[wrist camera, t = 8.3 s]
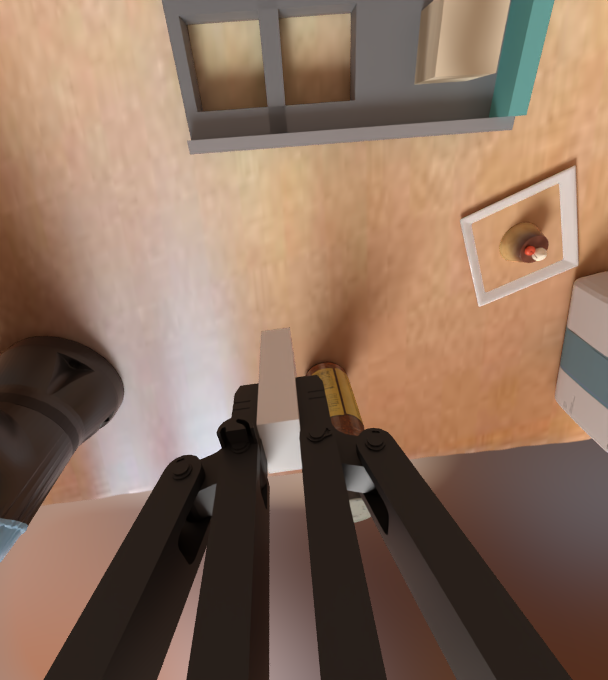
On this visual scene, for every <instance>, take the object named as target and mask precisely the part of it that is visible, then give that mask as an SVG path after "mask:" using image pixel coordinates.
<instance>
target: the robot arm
mask: <svg viewBox="0 0 608 680" xmlns="http://www.w3.org/2000/svg"><path fill="white" fill-rule="evenodd" d="M123 397H124V389H123V384H122V381H121V379H120V377H119V375H118V373H117V372H116V371H115V369H114V368H113V367H112V366H111V365H110V363H109V362H107V361H106V360H105V359H104V358H103V357H102V356H100V355H99V354H98V353H96V352H95V351H93V350H91V349H89V348H88V347H86V346H83V345H81V344H79V343H76V342H73V341H70V340H67V339H63V338H57V337H48V336H41V337H32V338H27V339H24V340H21V341H19V342H17V343H15V344H14V345H12V346H11V347H10V348H9V349H7V350H6V351H5V352H4V353H2V354H1V355H0V562H1V561H2V560H3V558H4V557H5V556H6V554H7V553H8V552H9V550H10V549H11V548H12V546H13V545H14V543H15V542H16V541H17V539H18V538H19V537H20V535H21V534H23V533H24V532H25V531H26V530H27V527H28V525H29V523H30V522H31V520H32V518H33V517H34V515H35V514H36V512H37V511H38V509H39V507H40V506H41V504H42V503H43V501H44V500H45V498H46V496H47V495H48V493H49V492H50V490H51V489H52V487H53V485H54V484H55V482H56V481H57V479H58V477H59V476H60V474H61V473H62V471H63V469H64V468H65V466H66V465H67V463H68V462H69V460H70V458H71V457H72V455H73V454H74V452H75V451H76V449H77V448H78V446H80V445H81V444H82V443H83V442H85V441H86V440H87V439H88V438H90V437H91V436H92V435H93V434H95V433H96V432H97V431H98V430H99V429H100V428H102V427H103V426H105V425H106V424H107V423H108V422H109V421H110V420H111V419H112V418H113V417H114V415H115V414H116V412H117V410H118V409H119V407H120V405H121V403H122V401H123ZM217 436H218V438H219V441H220V444H221V447H222V449H220V450H219V451H218V452H216V453H214V454H212V455H210V456H208V457H205V458H203V459H201V460H200V459H199V458H198V457H197V456H193V455H183V456H181V457H178V458H176V459H175V460H173V461H172V462H171V463H170V464H169V465H168V466H167V467H166V469H165V470H164V472H163V473H162V475H161V477H160V479H159V480H158V482H157V484H156V486H155V487H154V489H153V491H152V493H151V494H150V496H149V498H148V500H147V501H146V503H145V505H144V506H143V508H142V510H141V512H140V513H139V515H138V517H137V519H136V521H135V522H134V524H133V526H132V527H131V529H130V531H129V532H128V534H127V536H126V538H125V540H124V541H123V543H122V545H121V546H120V548H119V550H118V552H117V553H116V555H115V557H114V558H113V560H112V562H111V564H110V566H109V567H108V569H107V571H106V572H105V574H104V576H103V578H102V579H101V581H100V583H99V585H98V586H97V588H96V590H95V591H94V593H93V595H92V597H91V598H90V600H89V602H88V603H87V605H86V607H85V609H84V611H83V612H82V614H81V616H80V618H79V619H78V621H77V623H76V624H75V626H74V628H73V629H72V631H71V633H70V635H69V636H68V638H67V640H66V642H65V643H64V645H63V647H62V649H61V650H60V652H59V654H58V655H57V657H56V659H55V661H54V663H53V664H52V666H51V668H50V670H49V671H48V673H47V675H46V676H45V678H44V680H157V678H158V675H159V673H160V670H161V667H162V665H163V662H164V659H165V656H166V654H167V651H168V648H169V646H170V643H171V640H172V638H173V635H174V632H175V630H176V627H177V624H178V622H179V619H180V616H181V614H182V611H183V608H184V605H185V603H186V600H187V598H188V595H189V592H190V589H191V587H192V584H193V581H194V578H195V576H196V573H197V570H198V568H199V565H200V562H201V560H202V557H203V554H204V552H205V549H206V547H207V549H206V557H205V562H204V569H203V576H202V582H201V588H200V595H199V602H198V608H197V615H196V621H195V627H194V635H193V640H192V647H191V653H190V660H189V666H188V673H187V680H269V494H270V493H269V492H270V487H269V482H268V478H267V467H268V471H269V473H276V472H283V471H291V470H298V469H302V473H303V484H304V496H305V507H306V518H307V529H308V540H309V552H310V563H311V574H312V585H313V596H314V608H315V619H316V630H317V641H318V651H319V664H320V675H321V680H387V678H386V673H385V668H384V664H383V659H382V655H381V649H380V645H379V640H378V635H377V630H376V625H375V621H374V616H373V612H372V606H371V602H370V597H369V592H368V587H367V583H366V578H365V573H364V569H363V564H362V559H361V555H360V549H359V545H358V540H357V535H356V530H355V526H354V521H353V516H352V511H351V507H350V502H349V497H348V492H347V490H349V491H354V492H359V494H360V496H361V498H362V500H363V502H364V504H365V505H366V507H367V509H368V511H369V513H370V515H371V517H372V518H373V521H374V522H375V524H376V526H377V528H378V530H379V532H380V534H381V536H382V538H383V539H384V541H385V544H386V545H387V547H388V549H389V551H390V553H391V555H392V557H393V559H394V561H395V563H396V564H397V566H398V568H399V570H400V572H401V574H402V576H403V577H404V580H405V581H406V583H407V585H408V587H409V589H410V591H411V593H412V595H413V597H414V599H415V601H416V603H417V604H418V606H419V608H420V610H421V612H422V614H423V616H424V618H425V620H426V622H427V624H428V625H429V627H430V629H431V631H432V633H433V635H434V637H435V639H436V641H437V642H438V644H439V646H440V648H441V650H442V652H443V654H444V656H445V658H446V660H447V662H448V663H449V665H450V667H451V669H452V671H453V673H454V675H455V677H456V679H457V680H572V679H571V677H570V676H569V675H568V673H567V672H566V670H565V669H564V668H563V667H562V665H561V664H560V663H559V661H558V660H557V658H556V657H555V656H554V654H553V653H552V652H551V650H550V649H549V648H548V646H547V645H546V643H545V642H544V641H543V639H542V638H541V637H540V635H539V634H538V633H537V632H536V630H535V629H534V627H533V626H532V625H531V623H530V622H529V621H528V619H527V618H526V617H525V615H524V614H523V612H522V611H521V610H520V609H519V607H518V606H517V604H516V603H515V602H514V600H513V599H512V598H511V597H510V595H509V594H508V592H507V591H506V590H505V588H504V587H503V586H502V584H501V583H500V581H499V580H498V579H497V578H496V576H495V575H494V574H493V572H492V571H491V569H490V568H489V567H488V565H487V564H486V563H485V561H484V560H483V559H482V557H481V556H480V555H479V553H478V552H477V550H476V549H475V548H474V546H473V545H472V544H471V542H470V541H469V540H468V539H467V537H466V536H465V534H464V533H463V532H462V530H461V529H460V528H459V526H458V525H457V523H456V522H455V521H454V519H453V518H452V517H451V515H450V514H449V513H448V511H447V510H446V509H445V507H444V506H443V505H442V503H441V502H440V501H439V499H438V498H437V497H436V495H435V494H434V493H433V492H432V490H431V488H430V487H429V486H428V484H427V483H426V482H425V481H424V479H423V478H422V476H421V475H420V474H419V472H418V471H417V470H416V468H415V467H414V466H413V464H412V463H411V461H410V460H409V459H408V457H407V456H406V455H405V453H404V452H403V451H402V449H401V448H400V447H399V445H398V444H397V443H396V441H395V440H394V439H393V437H392V436H391V435H390V434H389V433H388V432H386V431H384V430H382V429H378V428H370V429H366V430H364V431H362V432H361V433H360V434H359V435H358V436H355V435H348V434H344V433H342V432H340V431H338V430H337V429H336V428H335V427H334V426H333V424H332V422H331V418H330V413H329V408H328V403H327V399H326V394H325V389H324V384H323V381H322V380H321V379H320V378H319V376H318V375H311V376H303V377H297V373H296V365H295V359H294V352H293V345H292V339H291V332H290V327H289V328H282V329H274V330H267V331H261V347H260V366H259V383H258V384H251V385H243V386H240V387H239V389H238V390H237V392H236V393H235V396H234V404H233V411H232V417H231V418H230V419H228V420H227V421H225V422H223V423H222V424H221V425H220V427H219V428H218V430H217Z"/></svg>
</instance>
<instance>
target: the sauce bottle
mask: <svg viewBox="0 0 608 680" xmlns="http://www.w3.org/2000/svg"><path fill="white" fill-rule="evenodd" d="M311 375H318V376H319V378H320V379H321V380H322V381H323V384H324V389H325V394H326V399H327V403H328V408H329V413H330V418H331V422H332V424H333V426H334V427H335V428H336V429H337V430H338V431H340V432H342V433H344V434H348V435H355V436H358V435H359V434H360V433H361V432H362V431H364V425H363V422H362V419H361V416H360V413H359V409H358V406H357V403H356V400H355V397H354V394H353V391H352V388H351V385H350V382H349V379H348V377H347V375H346V373H345V371H344V369H343V368H341V367H340V366H338V365H336V364H333V363H331V362H324V363H321V364H317V365H315V366H313V367H312V368H311V369H310V370H309V371H308V373H307V375H306V376H311ZM347 492H348V497H349V502H350V507H351V511H352V516H353V521H354V522H358V521H362V520H365V519H367V518H369V517H370V516H371V515H370V513H369V511H368V509H367V507H366V505H365V504H364V502H363V500H362V498H361V496H360V494H359V492H354V491H349V490H347Z"/></svg>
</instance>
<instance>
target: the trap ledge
mask: <svg viewBox="0 0 608 680" xmlns="http://www.w3.org/2000/svg"><path fill="white" fill-rule="evenodd" d="M432 1H433V0H162V4H163V9H164V13H165V18H166V23H167V27H168V32H169V37H170V42H171V46H172V51H173V56H174V61H175V65H176V70H177V75H178V79H179V84H180V89H181V94H182V98H183V103H184V108H185V113H186V117H187V122H188V127H189V132H190V136H191V141H187V142H188V147H189V151H190V154H201V153H214V152H227V151H240V150H254V149H267V148H280V147H293V146H306V145H319V144H332V143H345V142H358V141H371V140H384V139H398V138H411V137H424V136H437V135H450V134H463V133H476V132H489V131H502V130H512V128H513V124H514V119H515V116H521V115H526V114H527V110H528V106H529V102H530V98H531V94H532V90H533V85H534V81H535V77H536V73H537V69H538V65H539V61H540V57H541V53H542V49H543V45H544V41H545V37H546V32H547V28H548V24H549V20H550V16H551V12H552V8H553V4H554V0H510V5H509V10H508V15H507V20H506V25H505V30H504V35H503V40H502V45H501V50H500V55H499V60H498V65H497V70H496V73H494V74H490V75H487V76H483V77H479V78H476V79H472V80H469V81H460V82H445V83H431V84H416V85H414V82H415V71H416V61H417V50H418V40H419V29H420V19H421V11H422V10H423V9H424V8H425V7H427V6H428V5H429V4H430V3H431V2H432ZM344 13H351V64H350V101H339V102H326V103H313V104H299V105H286V106H285V96H284V83H283V70H282V57H281V44H280V31H279V18H288V17H302V16H316V15H330V14H344ZM246 20H259V25H260V35H261V45H262V55H263V65H264V75H265V85H266V95H267V105H268V107H259V108H246V109H233V110H219V111H206V112H203V109H202V104H201V98H200V93H199V88H198V82H197V77H196V72H195V66H194V61H193V56H192V50H191V45H190V40H189V34H188V29H187V25H191V24H205V23H219V22H233V21H246Z"/></svg>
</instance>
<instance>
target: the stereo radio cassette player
mask: <svg viewBox="0 0 608 680" xmlns="http://www.w3.org/2000/svg"><path fill="white" fill-rule="evenodd" d="M555 399H556V401H557V402H558V404H559V405H560V406H561V407H562V408H563V410H564V411H565V412H566V413H567V414H568V415H569V416H570V417H571V418H572V419H573V420H574V421H575V422H576V423H577V424H578V425H579V426H580V427H581V428H582V429H583V430H584V431H585V432H586V433H587V434H588V435H589V436H590V437H591V438H592V439H593V440H595V441H596V442H597V443H598V444H599V445H600V446H601V447H602V448H603V449H604V450H605V451H606V452H608V271H605V272H601V273H596V274H593V275H589V276H585V277H581V278H578V279H577V280H575V282H574V285H573V290H572V296H571V302H570V308H569V314H568V320H567V326H566V332H565V337H564V343H563V349H562V355H561V361H560V367H559V373H558V379H557V385H556V390H555Z"/></svg>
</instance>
